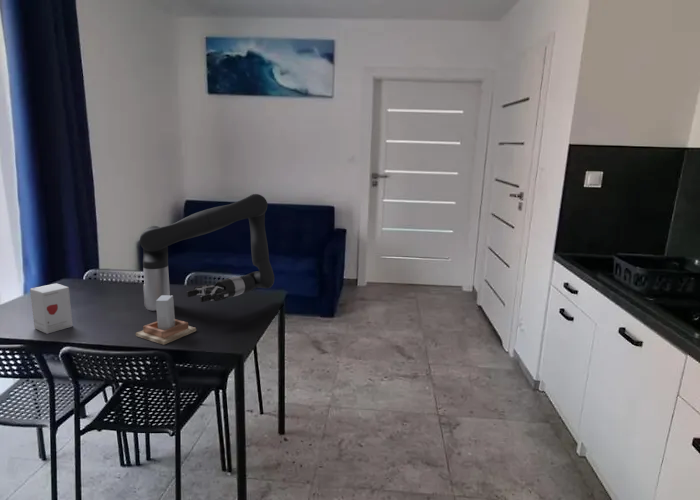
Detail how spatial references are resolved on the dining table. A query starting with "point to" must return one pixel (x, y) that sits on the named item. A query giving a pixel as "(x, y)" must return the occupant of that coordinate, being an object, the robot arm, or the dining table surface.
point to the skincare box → (165, 312)
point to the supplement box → (51, 308)
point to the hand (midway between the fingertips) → (193, 296)
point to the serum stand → (165, 332)
